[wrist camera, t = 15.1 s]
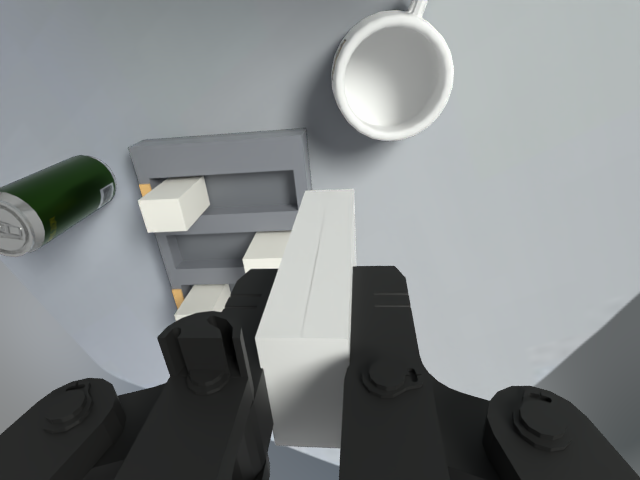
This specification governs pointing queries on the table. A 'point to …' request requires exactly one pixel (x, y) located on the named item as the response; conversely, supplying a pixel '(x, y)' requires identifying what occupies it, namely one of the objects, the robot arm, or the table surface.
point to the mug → (392, 74)
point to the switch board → (225, 197)
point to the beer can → (52, 202)
